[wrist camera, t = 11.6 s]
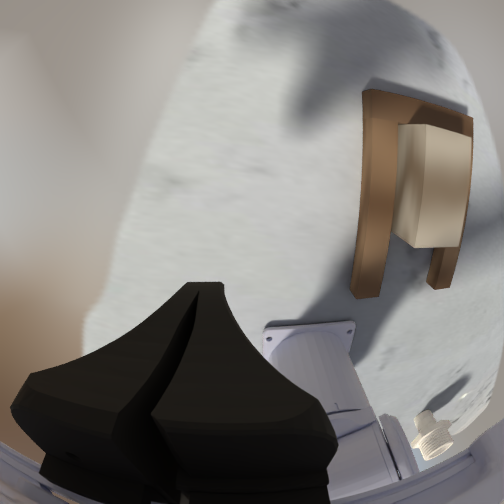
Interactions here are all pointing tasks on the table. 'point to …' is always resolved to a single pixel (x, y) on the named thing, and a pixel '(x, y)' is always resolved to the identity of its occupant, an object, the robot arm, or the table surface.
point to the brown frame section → (394, 186)
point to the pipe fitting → (431, 435)
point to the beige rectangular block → (431, 185)
